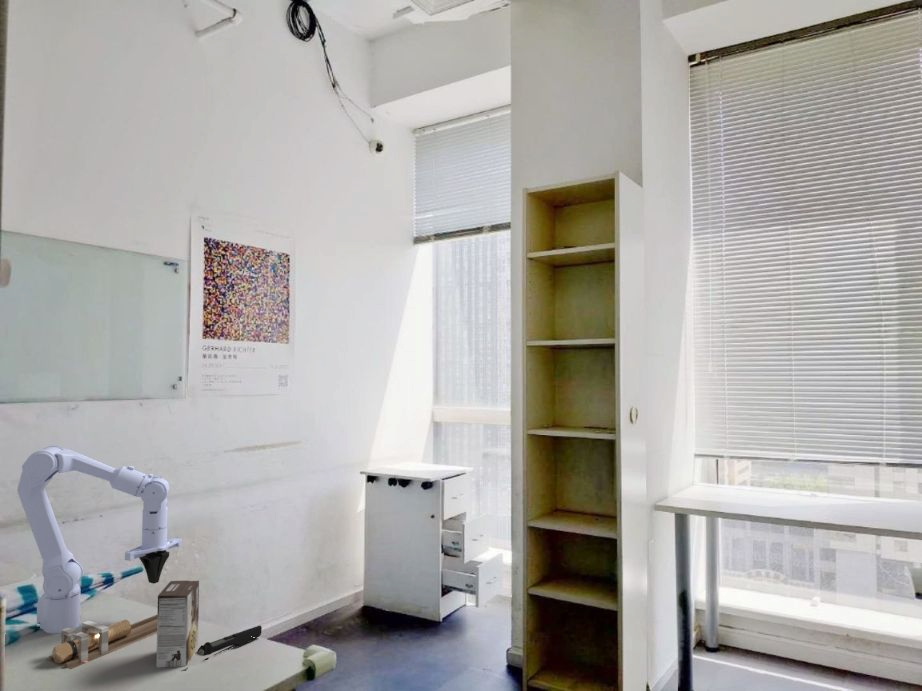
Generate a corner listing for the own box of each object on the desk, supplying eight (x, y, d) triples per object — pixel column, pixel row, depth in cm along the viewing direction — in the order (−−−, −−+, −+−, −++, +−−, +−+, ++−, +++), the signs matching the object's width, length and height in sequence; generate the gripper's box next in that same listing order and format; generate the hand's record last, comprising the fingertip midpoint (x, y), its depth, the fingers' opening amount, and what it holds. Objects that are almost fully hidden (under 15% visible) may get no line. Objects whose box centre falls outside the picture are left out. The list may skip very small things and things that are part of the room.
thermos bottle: (64, 663, 136) (62, 645, 136) (53, 664, 137) (51, 646, 138) (132, 635, 150) (130, 618, 150) (121, 636, 152) (119, 619, 152)
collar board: (45, 664, 139) (46, 633, 139) (155, 620, 162) (155, 594, 162) (70, 674, 134) (71, 642, 134) (179, 627, 158) (180, 601, 158)
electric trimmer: (265, 640, 153) (265, 626, 153) (203, 662, 141) (203, 648, 141) (256, 636, 155) (256, 622, 155) (194, 657, 143) (194, 643, 143)
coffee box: (168, 653, 144) (170, 580, 145) (198, 651, 145) (200, 579, 146) (154, 672, 135) (156, 595, 136) (186, 671, 136) (188, 594, 137)
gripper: (138, 536, 153) (137, 594, 153) (190, 523, 166) (189, 576, 166) (119, 532, 156) (118, 589, 156) (171, 519, 169) (170, 571, 169)
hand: (153, 582), depth 161 cm, fingers closed
